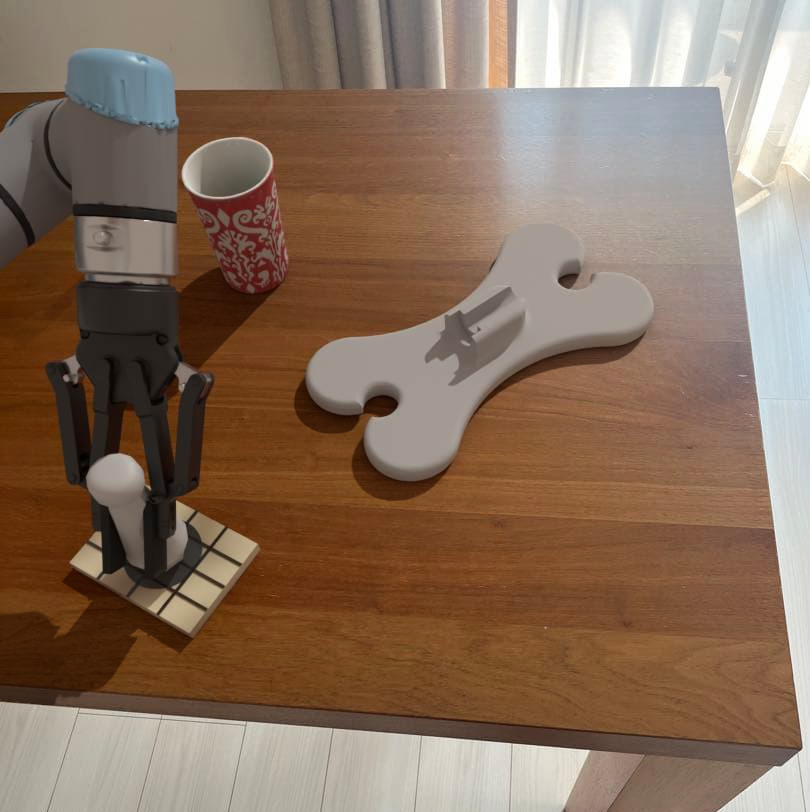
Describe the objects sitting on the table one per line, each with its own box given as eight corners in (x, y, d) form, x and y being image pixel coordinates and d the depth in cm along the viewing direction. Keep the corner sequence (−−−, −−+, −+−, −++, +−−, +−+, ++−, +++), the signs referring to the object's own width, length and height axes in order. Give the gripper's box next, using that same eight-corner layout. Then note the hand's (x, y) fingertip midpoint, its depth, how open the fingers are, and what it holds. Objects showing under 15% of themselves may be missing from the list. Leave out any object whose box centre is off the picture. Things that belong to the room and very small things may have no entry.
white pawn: (183, 585, 77) (131, 507, 66) (122, 576, 78) (61, 499, 67) (202, 527, 80) (156, 444, 69) (143, 520, 81) (88, 436, 70)
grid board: (74, 568, 81) (68, 562, 79) (143, 487, 84) (139, 480, 83) (193, 639, 76) (188, 632, 75) (260, 550, 80) (257, 543, 79)
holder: (670, 318, 90) (680, 282, 85) (402, 501, 81) (398, 470, 77) (545, 221, 98) (548, 183, 94) (290, 378, 90) (280, 344, 85)
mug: (292, 301, 95) (265, 197, 83) (210, 301, 96) (172, 198, 84) (307, 219, 101) (284, 112, 89) (230, 220, 102) (198, 114, 90)
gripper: (1, 273, 65) (21, 574, 72) (208, 286, 63) (209, 597, 69) (57, 274, 72) (70, 549, 79) (245, 287, 70) (242, 568, 77)
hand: (135, 571), depth 74 cm, fingers closed on white pawn, 3 cm apart
